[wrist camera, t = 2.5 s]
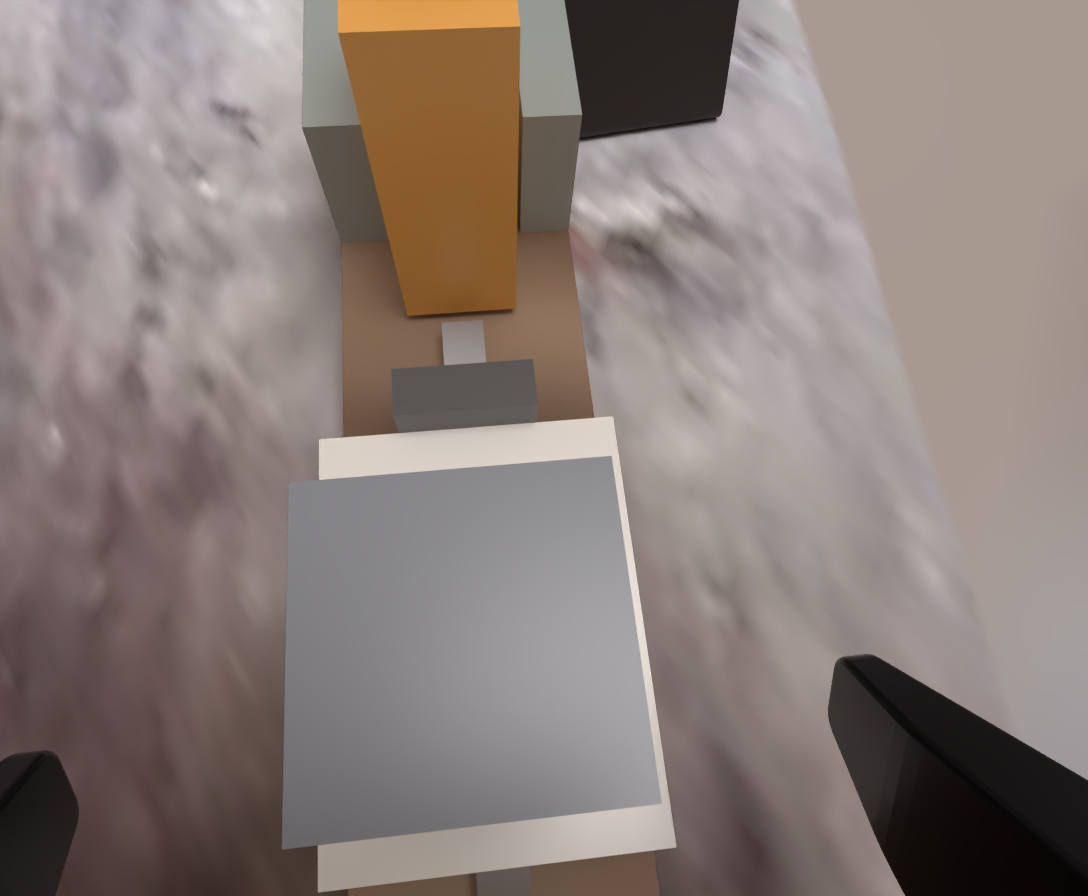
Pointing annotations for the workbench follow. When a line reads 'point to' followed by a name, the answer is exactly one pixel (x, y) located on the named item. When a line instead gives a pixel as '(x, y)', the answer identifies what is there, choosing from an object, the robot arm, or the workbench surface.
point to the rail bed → (563, 394)
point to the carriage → (467, 643)
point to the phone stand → (649, 61)
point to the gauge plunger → (441, 142)
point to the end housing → (542, 123)
